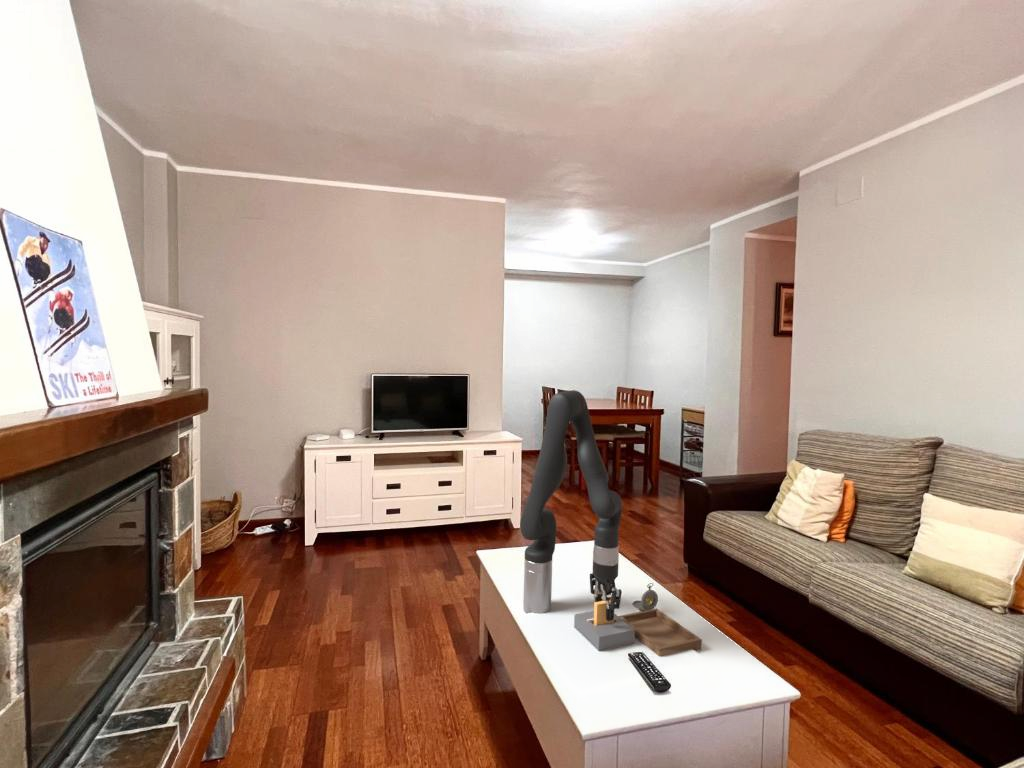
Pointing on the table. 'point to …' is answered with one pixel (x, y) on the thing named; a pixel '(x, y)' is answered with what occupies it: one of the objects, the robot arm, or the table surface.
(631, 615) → the tray
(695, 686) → the table surface
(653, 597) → the pocket watch
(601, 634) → the dispenser
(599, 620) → the yellow rectangular block
